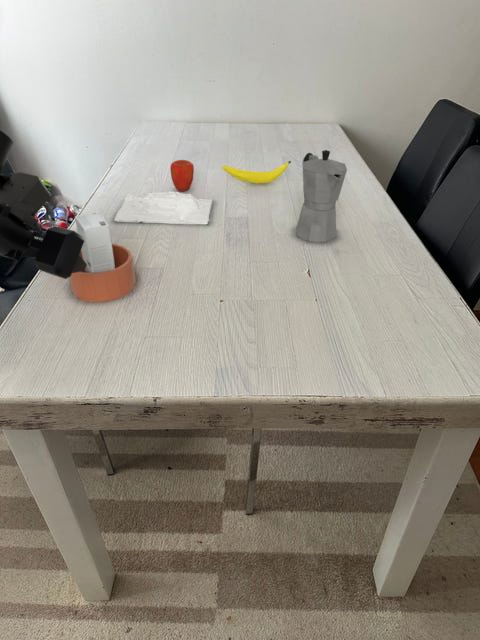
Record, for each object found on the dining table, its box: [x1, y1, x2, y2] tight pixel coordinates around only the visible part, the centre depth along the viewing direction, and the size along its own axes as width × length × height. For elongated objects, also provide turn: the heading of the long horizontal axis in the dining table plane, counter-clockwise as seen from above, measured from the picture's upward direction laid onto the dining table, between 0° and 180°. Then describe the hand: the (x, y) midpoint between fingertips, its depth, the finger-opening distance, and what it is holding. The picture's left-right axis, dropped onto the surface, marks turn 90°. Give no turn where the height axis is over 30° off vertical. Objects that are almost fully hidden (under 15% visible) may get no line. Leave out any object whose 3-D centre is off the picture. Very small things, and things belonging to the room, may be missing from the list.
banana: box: [220, 160, 292, 185], centre depth 122 cm, size 3×19×6 cm, turn 92°
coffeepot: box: [295, 149, 348, 244], centre depth 94 cm, size 15×9×18 cm, turn 18°
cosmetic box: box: [74, 211, 115, 273], centre depth 76 cm, size 6×4×12 cm
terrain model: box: [114, 191, 213, 225], centre depth 106 cm, size 17×23×5 cm
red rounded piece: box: [169, 159, 195, 192], centre depth 117 cm, size 6×6×8 cm
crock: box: [68, 243, 137, 303], centre depth 78 cm, size 11×11×6 cm
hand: (62, 260), depth 69 cm, fingers open, 9 cm apart
